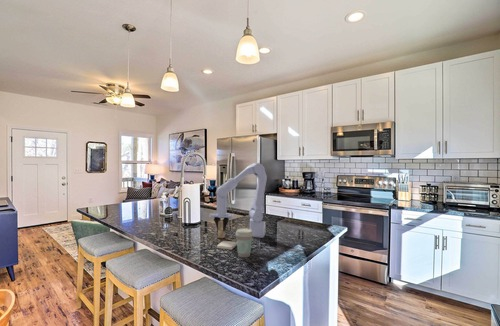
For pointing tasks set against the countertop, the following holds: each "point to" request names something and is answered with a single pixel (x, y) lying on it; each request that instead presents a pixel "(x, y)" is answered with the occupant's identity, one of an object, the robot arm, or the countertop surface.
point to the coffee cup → (244, 241)
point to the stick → (220, 229)
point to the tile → (227, 245)
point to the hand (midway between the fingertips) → (221, 230)
